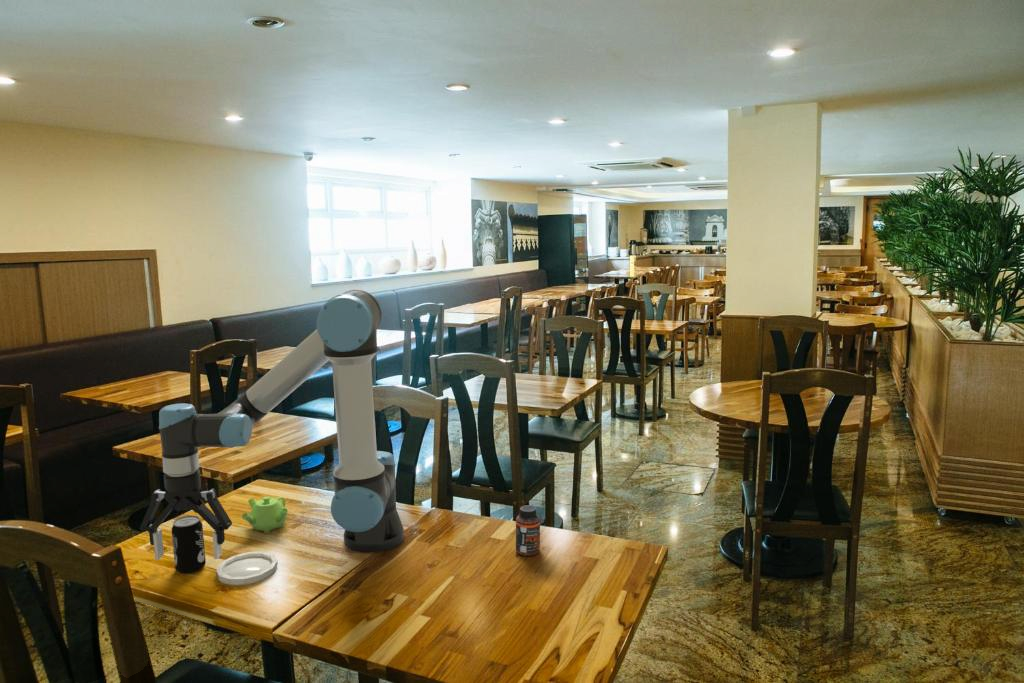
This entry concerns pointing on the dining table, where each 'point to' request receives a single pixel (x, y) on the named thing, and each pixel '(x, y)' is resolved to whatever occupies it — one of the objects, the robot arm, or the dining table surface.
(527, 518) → the supplement bottle
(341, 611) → the dining table surface
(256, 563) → the saucer
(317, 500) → the dining table surface
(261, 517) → the green rounded body
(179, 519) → the beverage can
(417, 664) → the dining table surface
